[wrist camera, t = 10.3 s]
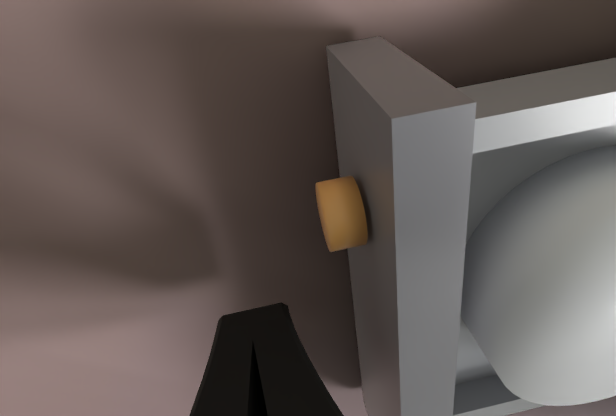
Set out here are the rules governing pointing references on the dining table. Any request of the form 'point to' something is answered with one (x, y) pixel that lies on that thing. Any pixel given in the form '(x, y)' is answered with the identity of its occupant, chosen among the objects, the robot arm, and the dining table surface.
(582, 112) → the tray
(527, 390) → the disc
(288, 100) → the dining table surface
